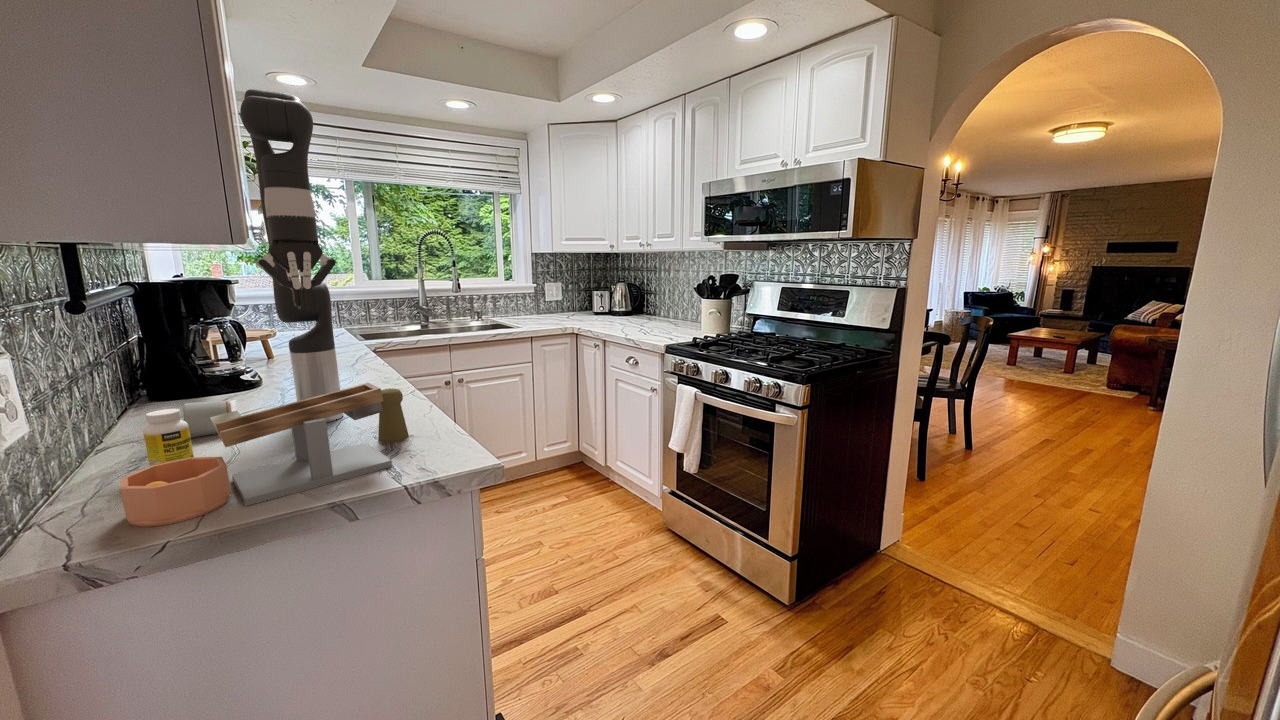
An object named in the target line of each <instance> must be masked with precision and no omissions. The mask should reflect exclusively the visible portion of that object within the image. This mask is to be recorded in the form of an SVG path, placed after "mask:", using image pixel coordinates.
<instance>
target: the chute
mask: <svg viewBox="0 0 1280 720" xmlns="http://www.w3.org/2000/svg"><path fill="white" fill-rule="evenodd" d="M381 390H382V388H380V387H378V386H376V385H374V384H372V383H370V382H366V383H362V384H359V385H358V384H357V385H354V386H350V387H346V388H343V389H340V390H338V391H335V392H331V393H327V394H323V395H320V396H316V397H312V398H308V399H305V400H301V401H297V400H296V401H294V402H290V403H286V404H283V405H280V406H274V407H271V408H268V409H264V410H260V411H256V412H252V413H250V414H249V413H248V414H245V415H241V414H240V412H239V411H238V410H234V411H232V412H229V413H225V414H221V415H217V416H214V417H210V419H211V422H212V424H213V426H214V428H215V430H216V432H217V435H218V437H219V439H220V440H221V442H222V444H223V446H224V447H225V448H228V447H232V446H234V445H235V446H236V445H239V444H242V443H246V442H249V441H253V440H255V439H259V438H263V437H266V436H269V435H273V434H276V433H280V432H283V431H287V430H290V429H291V428H294V427H297V426H300V425H304V423H303V422H304V421H309V420H314V419H320V418H328V417H331V416H334V415H338V414H341V413H343V415H345V416H348V417H349V418H351V419H352V420H353V421H358V420H361V419H364V418H368V417H371V416H375V415H377V414H379V413H381V412H383V409H382V405H381V402H382V401H383V397H382V393H381Z"/></svg>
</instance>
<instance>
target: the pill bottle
mask: <svg viewBox="0 0 1280 720" xmlns="http://www.w3.org/2000/svg"><path fill="white" fill-rule="evenodd" d="M145 418H146V419H145V420H146V422H147V423H148V425H146V426H144V428H143V438H144V443H145V449H146V453H147V458H148V464H149V466H152V465H156V464H161V463H166V462H171V461H176V460H181V459H185V458H190V457H195V456H194V450H193V444H192V438H191V437H190V432H189V426H188V423H187V422H185V421H184V419H181V418H182V412H181V409H179V408H165V409H159V410H153V411H151V412H150V411H149V412H147V413H146V414H145Z"/></svg>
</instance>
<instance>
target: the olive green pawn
mask: <svg viewBox="0 0 1280 720" xmlns="http://www.w3.org/2000/svg"><path fill="white" fill-rule="evenodd" d="M381 393H382V397H383V401H382V402H381V405H382V409H383V412H381V413H378V415H379V416H378V440H377V441H378V443H380V444H394V443H400V442H403V441H405V440H408V439H409V437H410V435H409V431H408V427H407V424H406V419H405V415H404V412H403V408H402V407H403V406H402V404H401V403H402V401H403V399H404V395H403V393H402V391H401V389H399V388H385V389H381Z"/></svg>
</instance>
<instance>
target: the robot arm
mask: <svg viewBox="0 0 1280 720" xmlns="http://www.w3.org/2000/svg"><path fill="white" fill-rule="evenodd" d="M239 113H240V119H241V123H242V125H243V127H244V129H245V130H246V131H247V132H248V134H249V135H250V139H251V144H252V148H253V153H254V156H255V157H254V158H255V163H256V170H257V177H258V187H259V194H260V196H259V197H260V203H261V204H260V205H261V210H262V216H263V221H264V228H265V233H266V238H267V243H268V250H267V252H268V253H267V254H266V255H265V256H263V257H262V258H261V259H257V260H256V262H255V263H256V265H257V266H258V267H259V268H260V269H261V270H263V271H264V272H265V273H266V274H267V275H268V276H270V278H272V286H273V288H272V289H273V296H274V297H273V298H274V306H275V312H276V314H277V317H278V319H279V320H280V321H281V322H282V323H285V324H289V323H290V324H291V323H292V324H293V323H305V322H306V323H307V322H315V325H314V326H313V327H312V328H311V329H309V330H308V331H306V332H303V333H302V334H300V335H297V336H295V337H292V338H291V339H289V341H288V348H289V356H290V362H291V370H292V377H293V383H294V390H295V396H296V402H297V401H301V400H305V399H308V398H312V397H316V396H320V395H323V394H327V393H331V392H335V391H338V390H341V385H340V384H341V383H340V374H339V367H338V360H337V359H338V358H337V353H336V352H337V351H336V345H335V337H334V328H333V317H332V313H333V312H332V302H331V301H332V300H331V293H330V290H329V288H328V286H327V284H325V283H324V281H325V279H326V278H327V276H328V275H329V274H330V272H331V271H332V269H333V268H334V267H335V265H337V261H336V259H334V258H330V257H328V256H327V255H326V254H324V253H323V252H324V251H323V249H322V248H321V246H320V244H319V238H318V237H319V236H318V229H317V220H316V219H317V218H316V210H315V205H314V200H313V197H312V192H311V185H310V178H309V169H308V166H309V165H308V159H309V158H308V157H309V156H308V155H309V151H310V144H311V141H312V135H313V131H314V119H313V116H312V113H311V112H310V110H309V109H308V108H307V106H306V105H304V104H303V103H302V101H301V99H300V98H299V97H297V96H296V95H293V94H291V93H287V92H286V93H285V92H278V91H269V90H264V89H263V90H262V89H256V88H255V89H254V88H252V89H251V88H250V89H247V90H246V91H245V93H244V97H243V100H242V102H241V105H240V111H239ZM269 141H270V142H271V141H273V142H283V143H292V146H291V148H290V149H289V150H287V151H285V152H275V151H274V149H273V148H272V145H271V144H270V142H269ZM319 261H320V262H319ZM317 263H319V266H320V268H319V269H318V270H317V272H316V273H315V274H314V276H313V277H312V270H313V269H314V268H315V266H316V264H317ZM342 416H344V413H341V414H338V415H334V416H331V417H328V418H324V419H326V423H328V422H333V421H337V420H339V419H341V418H343V417H342ZM336 419H337V420H336Z"/></svg>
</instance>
